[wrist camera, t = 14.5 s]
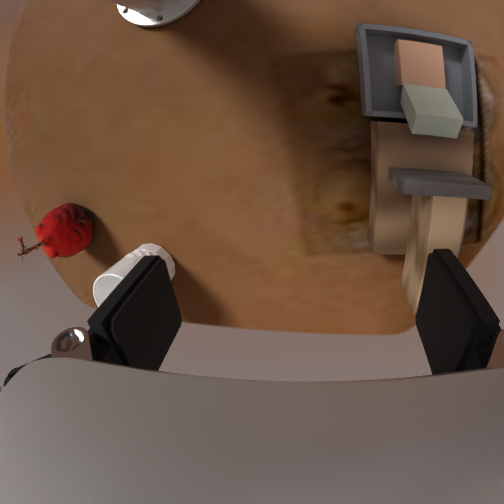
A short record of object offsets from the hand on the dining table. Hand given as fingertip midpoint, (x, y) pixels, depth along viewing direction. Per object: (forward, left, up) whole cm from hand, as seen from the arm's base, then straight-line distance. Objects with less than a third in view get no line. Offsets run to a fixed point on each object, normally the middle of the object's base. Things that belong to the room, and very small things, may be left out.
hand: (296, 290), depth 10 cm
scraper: (+7, +13, -22) cm, 26 cm away
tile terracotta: (-12, +12, -23) cm, 28 cm away
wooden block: (+2, +12, -26) cm, 29 cm away
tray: (-10, +12, -26) cm, 30 cm away
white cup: (+13, -22, -26) cm, 36 cm away
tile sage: (-6, +13, -22) cm, 26 cm away
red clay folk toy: (+6, -34, -26) cm, 43 cm away
